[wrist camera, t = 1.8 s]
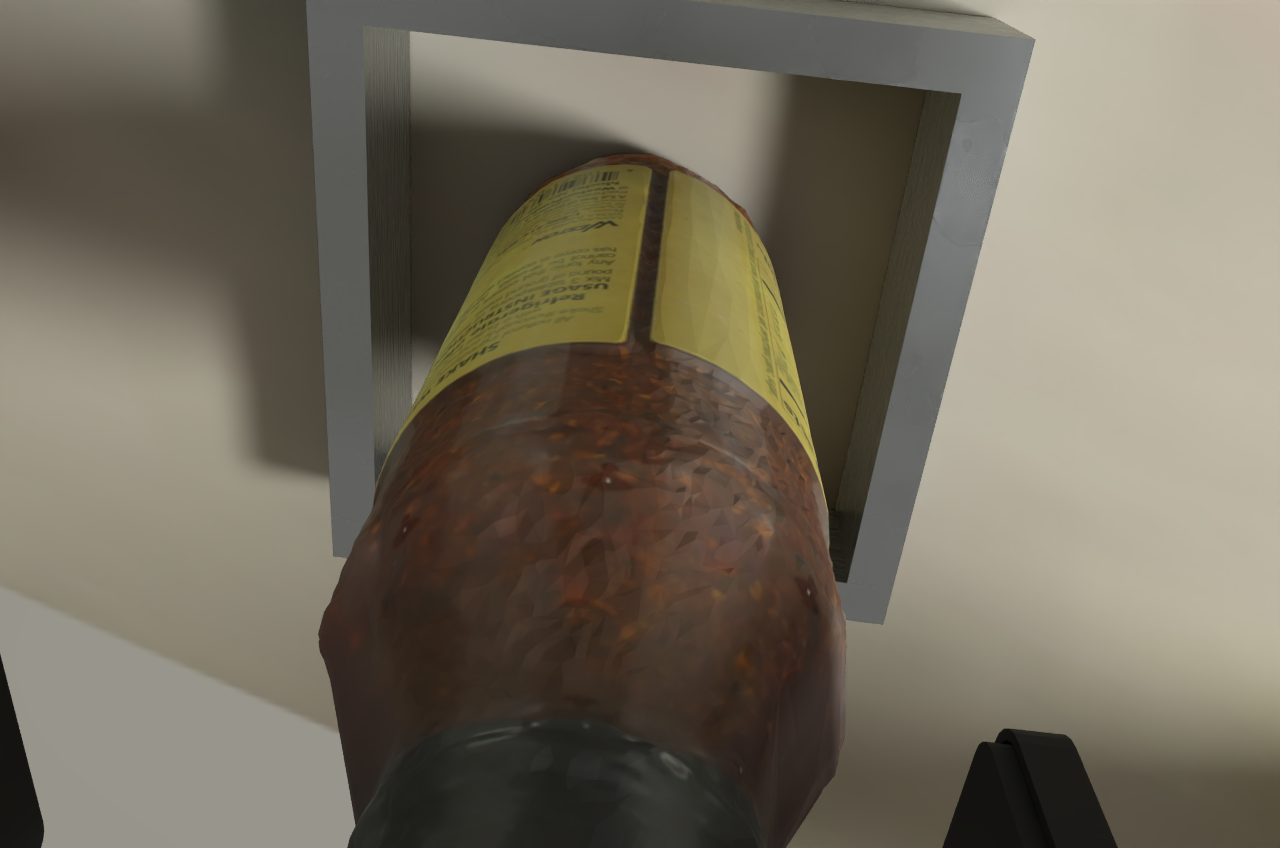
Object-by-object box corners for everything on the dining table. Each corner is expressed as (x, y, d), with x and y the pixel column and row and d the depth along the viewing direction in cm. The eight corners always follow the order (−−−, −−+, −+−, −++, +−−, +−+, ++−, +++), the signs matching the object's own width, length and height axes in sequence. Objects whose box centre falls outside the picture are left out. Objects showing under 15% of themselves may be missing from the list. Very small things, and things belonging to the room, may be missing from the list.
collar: (995, 18, 20) (1035, 39, 18) (867, 548, 26) (883, 624, 24) (358, -54, 21) (304, -44, 18) (372, 487, 26) (333, 556, 24)
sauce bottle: (477, 370, 25) (-137, 1591, 7) (524, 107, 22) (-317, 1072, 4) (746, 436, 25) (791, 1766, 7) (828, 185, 22) (1222, 1394, 4)
